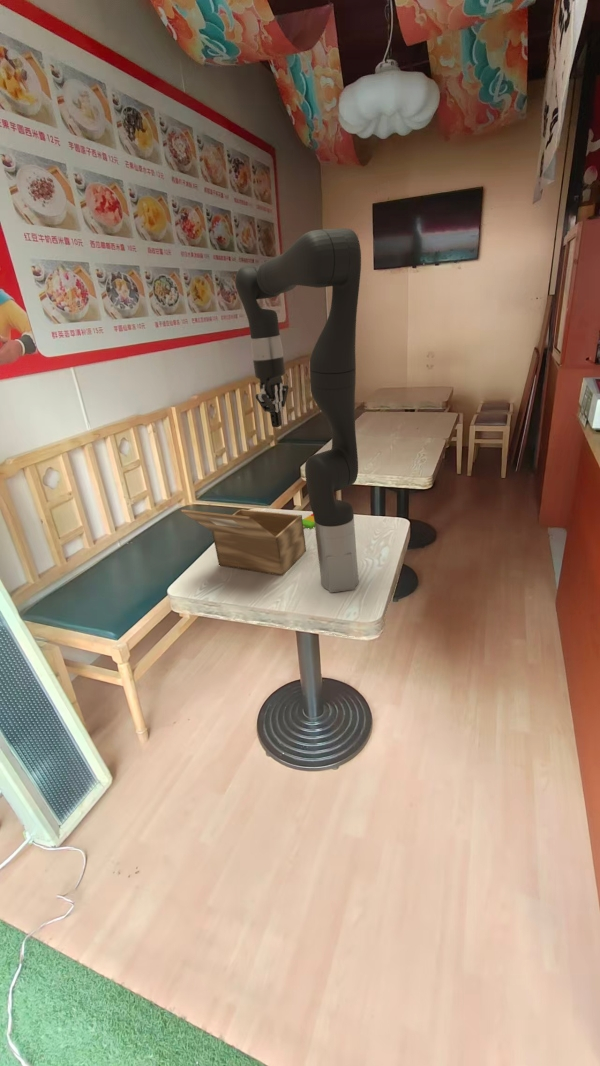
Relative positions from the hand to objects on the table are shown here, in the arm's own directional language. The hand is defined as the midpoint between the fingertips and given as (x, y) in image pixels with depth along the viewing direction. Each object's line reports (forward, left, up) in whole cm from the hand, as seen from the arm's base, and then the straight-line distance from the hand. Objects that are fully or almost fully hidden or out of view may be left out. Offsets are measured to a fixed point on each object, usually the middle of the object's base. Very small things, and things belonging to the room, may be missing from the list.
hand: (277, 426), depth 134 cm
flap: (-16, +15, -19) cm, 29 cm away
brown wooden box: (-6, +9, -35) cm, 36 cm away
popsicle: (+12, -5, -36) cm, 38 cm away
